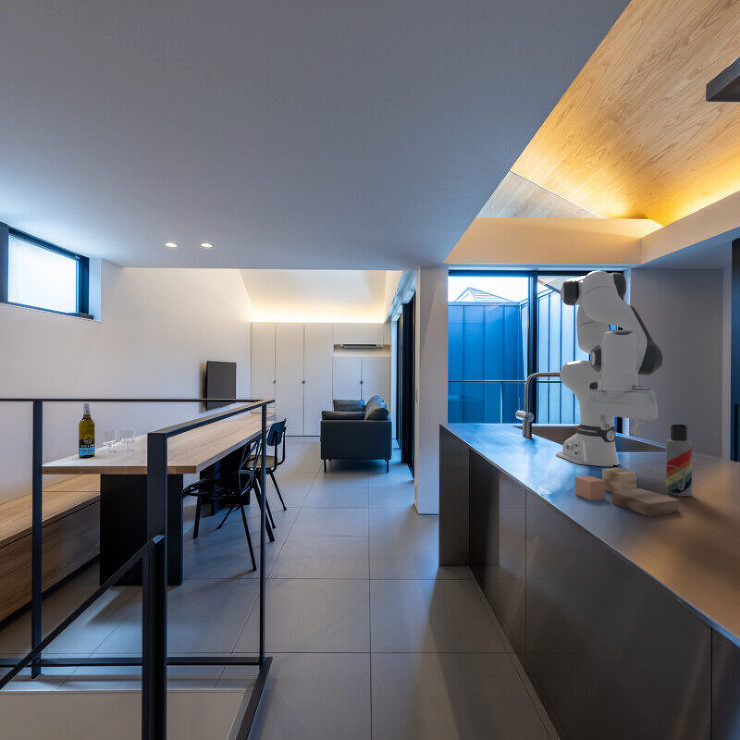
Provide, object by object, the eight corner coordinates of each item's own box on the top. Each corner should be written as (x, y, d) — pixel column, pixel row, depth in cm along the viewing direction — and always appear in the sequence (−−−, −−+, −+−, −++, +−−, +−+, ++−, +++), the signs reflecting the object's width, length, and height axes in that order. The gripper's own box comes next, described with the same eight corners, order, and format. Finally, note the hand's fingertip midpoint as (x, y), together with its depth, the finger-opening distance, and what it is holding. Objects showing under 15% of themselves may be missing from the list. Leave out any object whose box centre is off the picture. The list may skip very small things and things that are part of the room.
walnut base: (611, 502, 102) (611, 491, 102) (639, 499, 105) (639, 488, 105) (649, 516, 92) (649, 504, 92) (678, 511, 95) (678, 499, 95)
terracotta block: (575, 494, 109) (575, 477, 109) (589, 492, 110) (589, 475, 110) (590, 500, 104) (590, 481, 104) (604, 498, 106) (604, 480, 106)
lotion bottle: (670, 495, 108) (670, 424, 108) (663, 489, 113) (663, 422, 113) (695, 498, 106) (695, 425, 106) (686, 491, 111) (686, 422, 111)
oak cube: (602, 489, 114) (602, 469, 114) (617, 487, 115) (617, 467, 115) (620, 495, 108) (620, 474, 108) (636, 493, 110) (636, 472, 110)
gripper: (664, 386, 103) (664, 437, 103) (597, 383, 122) (597, 427, 122) (646, 386, 101) (646, 438, 101) (582, 384, 120) (582, 428, 120)
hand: (619, 432), depth 112 cm, fingers open, 8 cm apart
